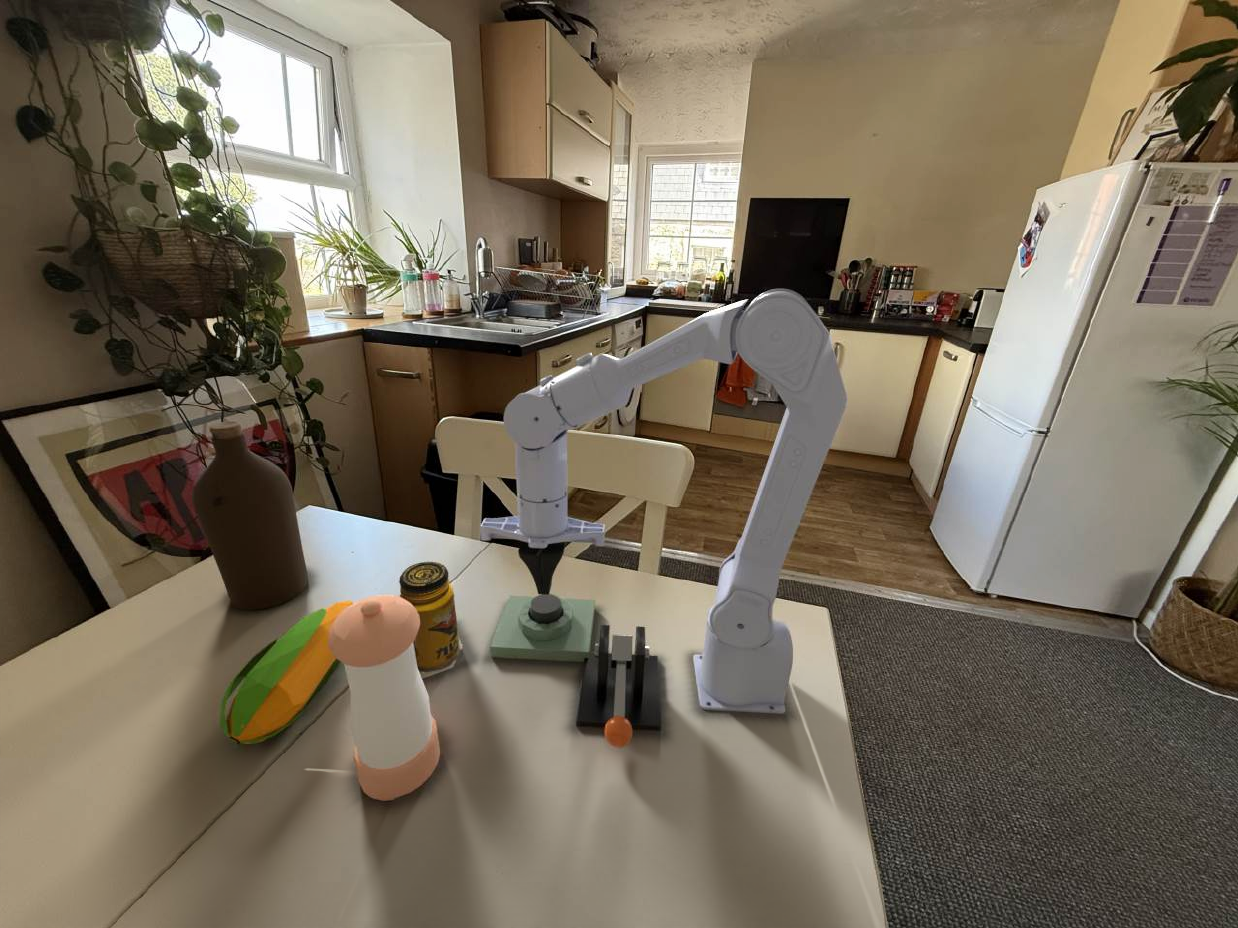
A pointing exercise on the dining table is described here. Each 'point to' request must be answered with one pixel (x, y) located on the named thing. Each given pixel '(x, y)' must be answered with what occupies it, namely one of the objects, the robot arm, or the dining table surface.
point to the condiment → (432, 616)
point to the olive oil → (250, 523)
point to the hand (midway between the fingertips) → (544, 589)
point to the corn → (281, 679)
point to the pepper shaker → (386, 696)
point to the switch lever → (620, 692)
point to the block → (544, 632)
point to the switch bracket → (601, 686)
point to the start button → (545, 609)
